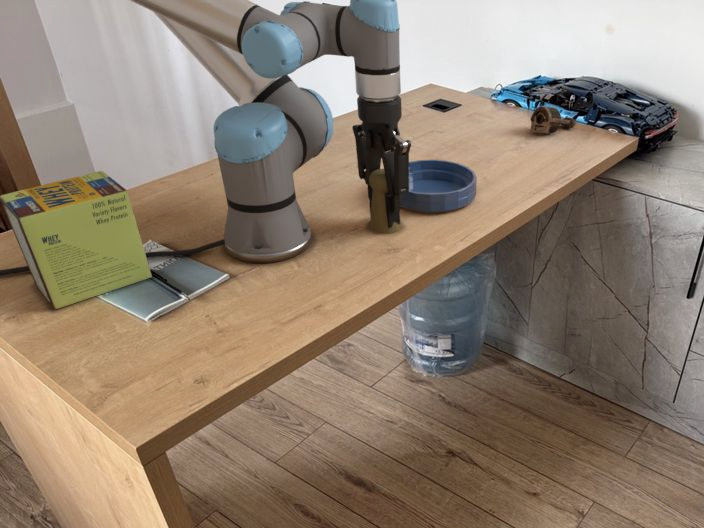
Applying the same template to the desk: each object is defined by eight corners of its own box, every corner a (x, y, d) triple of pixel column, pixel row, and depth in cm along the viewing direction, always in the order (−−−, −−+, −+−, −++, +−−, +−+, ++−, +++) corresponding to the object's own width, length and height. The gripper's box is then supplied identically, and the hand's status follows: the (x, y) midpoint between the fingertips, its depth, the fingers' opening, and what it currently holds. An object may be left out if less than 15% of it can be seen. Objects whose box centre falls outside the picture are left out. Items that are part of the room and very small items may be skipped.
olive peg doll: (382, 216, 133) (379, 162, 126) (407, 224, 130) (405, 169, 124) (363, 228, 129) (359, 172, 122) (388, 236, 126) (386, 180, 120)
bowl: (429, 224, 131) (429, 202, 128) (370, 195, 141) (369, 174, 138) (493, 197, 141) (494, 177, 139) (433, 172, 151) (433, 153, 149)
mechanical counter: (522, 105, 175) (536, 108, 166) (568, 98, 177) (584, 100, 168) (525, 134, 178) (539, 138, 169) (569, 126, 180) (585, 130, 172)
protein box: (154, 277, 112) (128, 189, 103) (55, 310, 103) (17, 218, 94) (128, 254, 118) (102, 169, 109) (33, 284, 109) (-4, 194, 100)
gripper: (429, 102, 112) (430, 230, 126) (364, 80, 122) (372, 201, 136) (395, 112, 108) (399, 242, 122) (330, 88, 117) (342, 212, 131)
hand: (385, 220), depth 129 cm, fingers closed on olive peg doll, 4 cm apart
